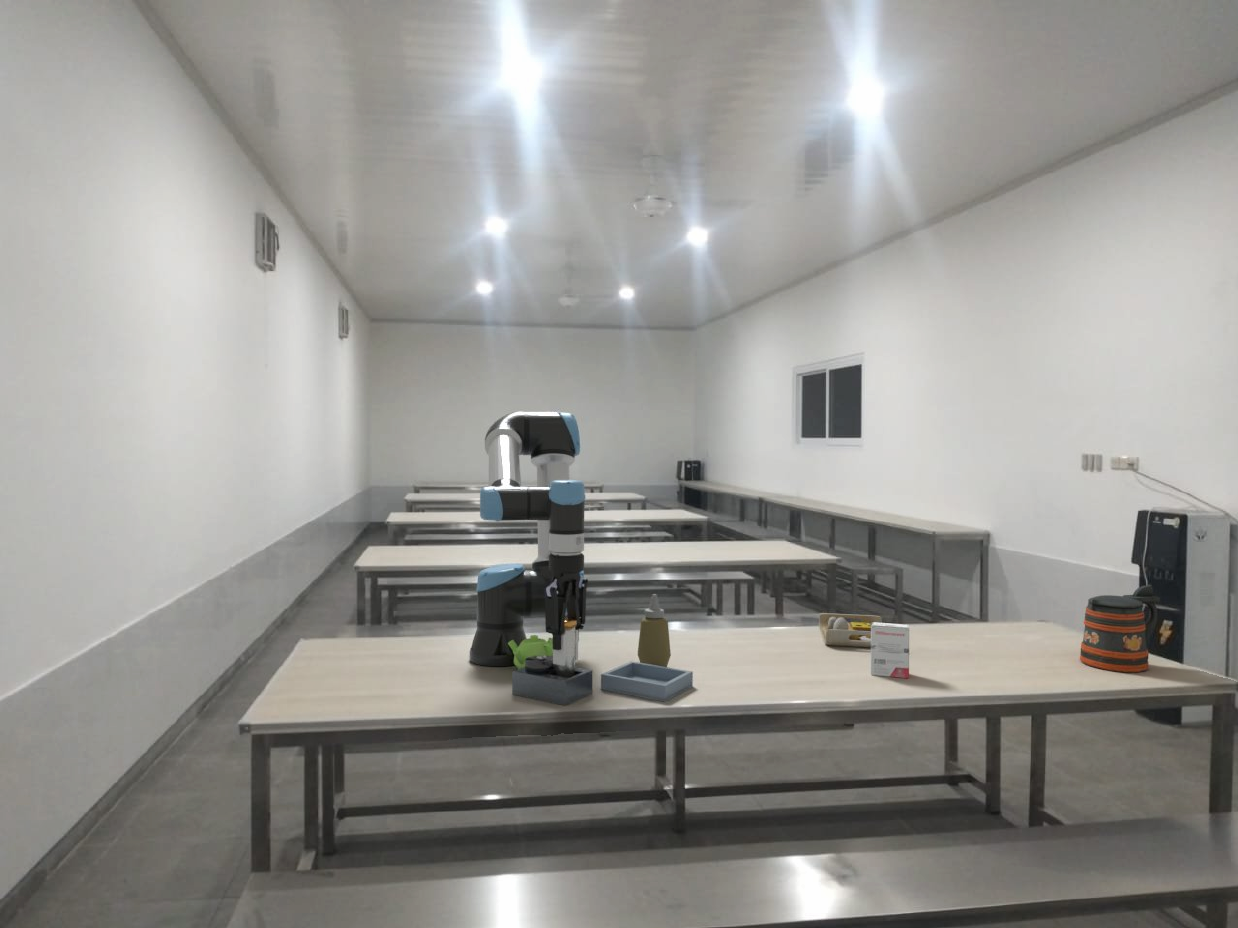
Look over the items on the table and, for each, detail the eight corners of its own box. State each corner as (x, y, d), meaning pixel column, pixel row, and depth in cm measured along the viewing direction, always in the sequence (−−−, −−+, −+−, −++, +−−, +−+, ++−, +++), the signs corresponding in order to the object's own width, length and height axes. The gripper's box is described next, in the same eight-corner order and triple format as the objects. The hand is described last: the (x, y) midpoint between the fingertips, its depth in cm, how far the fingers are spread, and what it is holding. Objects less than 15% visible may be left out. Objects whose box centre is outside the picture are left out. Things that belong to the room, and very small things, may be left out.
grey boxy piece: (512, 694, 171) (512, 658, 171) (540, 682, 180) (540, 648, 179) (565, 705, 164) (565, 667, 164) (592, 693, 172) (592, 657, 172)
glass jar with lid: (550, 690, 169) (550, 621, 169) (562, 685, 173) (563, 617, 173) (568, 694, 167) (568, 623, 167) (580, 689, 171) (580, 619, 171)
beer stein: (1125, 655, 209) (1127, 579, 209) (1177, 670, 195) (1179, 588, 194) (1066, 659, 204) (1067, 581, 204) (1115, 674, 190) (1116, 591, 190)
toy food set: (895, 652, 211) (896, 624, 211) (825, 649, 214) (825, 621, 214) (881, 631, 236) (882, 605, 236) (818, 628, 239) (819, 603, 239)
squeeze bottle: (668, 674, 187) (668, 598, 187) (634, 672, 189) (635, 596, 188) (672, 665, 195) (673, 592, 195) (640, 663, 196) (640, 591, 196)
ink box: (908, 673, 190) (909, 623, 190) (909, 678, 185) (909, 627, 185) (870, 669, 193) (871, 620, 193) (870, 675, 188) (870, 624, 188)
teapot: (560, 676, 185) (561, 640, 185) (511, 679, 182) (511, 642, 182) (554, 663, 196) (554, 629, 196) (507, 666, 193) (507, 631, 193)
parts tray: (600, 689, 175) (601, 674, 175) (631, 675, 186) (631, 661, 186) (665, 701, 167) (665, 685, 167) (692, 686, 178) (692, 671, 178)
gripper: (557, 559, 160) (556, 674, 161) (603, 549, 175) (602, 655, 175) (527, 555, 164) (527, 668, 165) (574, 546, 179) (573, 650, 179)
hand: (565, 661), depth 170 cm, fingers closed on glass jar with lid, 4 cm apart
